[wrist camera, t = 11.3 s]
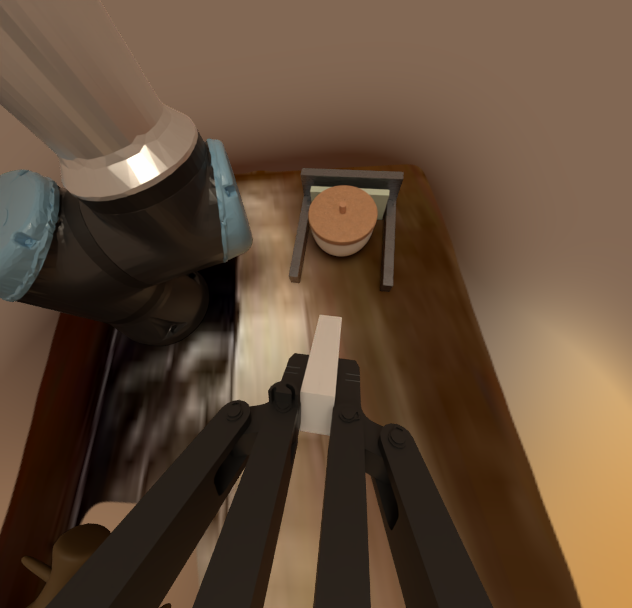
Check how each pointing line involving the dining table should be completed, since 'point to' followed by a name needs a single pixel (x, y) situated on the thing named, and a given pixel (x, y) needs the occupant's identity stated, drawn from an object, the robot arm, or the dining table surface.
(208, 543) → the dining table surface
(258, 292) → the dining table surface
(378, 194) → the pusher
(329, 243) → the lidded jar
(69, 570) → the kendama
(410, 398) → the dining table surface
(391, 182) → the grey u-shaped frame
